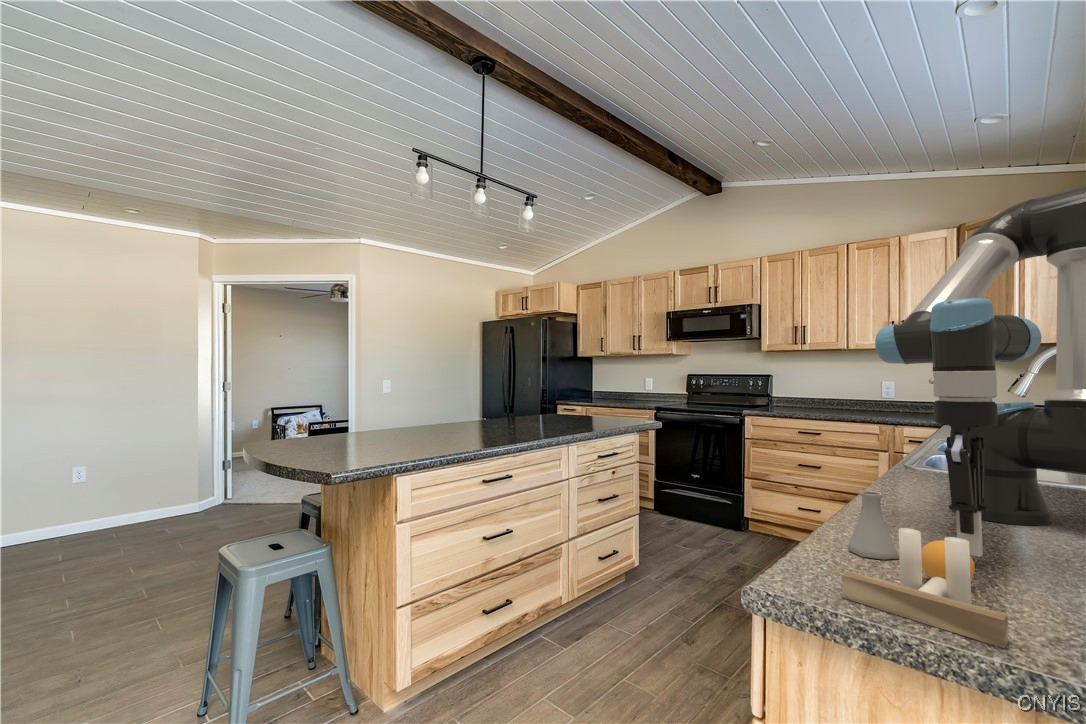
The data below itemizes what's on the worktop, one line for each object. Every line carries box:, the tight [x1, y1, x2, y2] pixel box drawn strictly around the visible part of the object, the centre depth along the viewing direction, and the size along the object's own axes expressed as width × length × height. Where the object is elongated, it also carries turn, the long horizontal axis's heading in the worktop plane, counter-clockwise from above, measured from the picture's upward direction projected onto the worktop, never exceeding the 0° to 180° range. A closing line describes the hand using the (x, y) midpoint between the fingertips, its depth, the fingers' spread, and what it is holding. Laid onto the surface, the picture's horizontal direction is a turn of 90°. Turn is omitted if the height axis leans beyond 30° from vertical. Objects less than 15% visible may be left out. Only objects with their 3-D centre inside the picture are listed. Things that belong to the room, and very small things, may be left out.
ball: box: [921, 539, 976, 580], centre depth 70 cm, size 6×6×6 cm
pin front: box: [918, 577, 947, 598], centre depth 64 cm, size 2×2×8 cm
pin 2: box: [944, 536, 972, 605], centre depth 63 cm, size 2×2×8 cm
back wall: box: [841, 570, 1009, 649], centre depth 60 cm, size 2×16×3 cm, turn 38°
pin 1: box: [898, 527, 924, 590], centre depth 67 cm, size 2×2×8 cm
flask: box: [847, 490, 900, 560], centre depth 82 cm, size 7×7×10 cm
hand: (970, 553), depth 76 cm, fingers closed
